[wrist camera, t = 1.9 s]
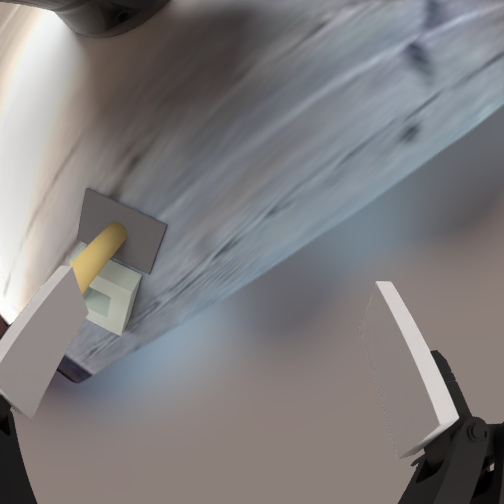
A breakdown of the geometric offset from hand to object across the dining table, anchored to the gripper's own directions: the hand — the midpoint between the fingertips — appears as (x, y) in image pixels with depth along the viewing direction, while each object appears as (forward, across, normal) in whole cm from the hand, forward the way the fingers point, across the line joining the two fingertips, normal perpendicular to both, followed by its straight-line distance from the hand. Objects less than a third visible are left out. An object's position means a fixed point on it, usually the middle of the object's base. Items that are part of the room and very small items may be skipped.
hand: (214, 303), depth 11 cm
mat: (+21, -16, -8) cm, 28 cm away
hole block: (+21, -20, -17) cm, 34 cm away
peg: (+21, -16, -8) cm, 27 cm away
